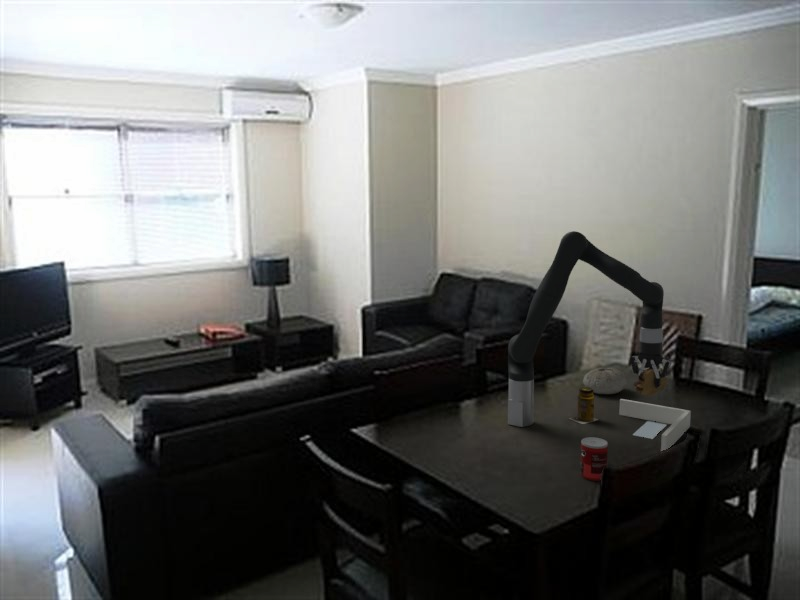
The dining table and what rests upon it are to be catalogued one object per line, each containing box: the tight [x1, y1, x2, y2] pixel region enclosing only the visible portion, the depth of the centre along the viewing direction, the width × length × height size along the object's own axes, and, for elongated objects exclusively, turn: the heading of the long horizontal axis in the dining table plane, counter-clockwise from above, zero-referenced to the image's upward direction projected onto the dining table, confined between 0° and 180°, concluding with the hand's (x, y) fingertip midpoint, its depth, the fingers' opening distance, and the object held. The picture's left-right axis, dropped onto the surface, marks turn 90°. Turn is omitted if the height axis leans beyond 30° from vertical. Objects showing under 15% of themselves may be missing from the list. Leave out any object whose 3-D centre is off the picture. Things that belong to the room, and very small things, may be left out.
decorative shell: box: [582, 367, 628, 395], centre depth 293 cm, size 18×18×10 cm
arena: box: [618, 398, 692, 452], centre depth 246 cm, size 30×26×6 cm
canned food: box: [580, 436, 609, 482], centre depth 210 cm, size 8×8×11 cm
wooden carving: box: [633, 367, 668, 397], centre depth 243 cm, size 16×5×10 cm, turn 129°
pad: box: [632, 420, 668, 440], centre depth 248 cm, size 17×7×1 cm, turn 143°
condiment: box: [568, 386, 599, 425], centre depth 259 cm, size 7×8×12 cm
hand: (649, 386), depth 244 cm, fingers closed on wooden carving, 4 cm apart
